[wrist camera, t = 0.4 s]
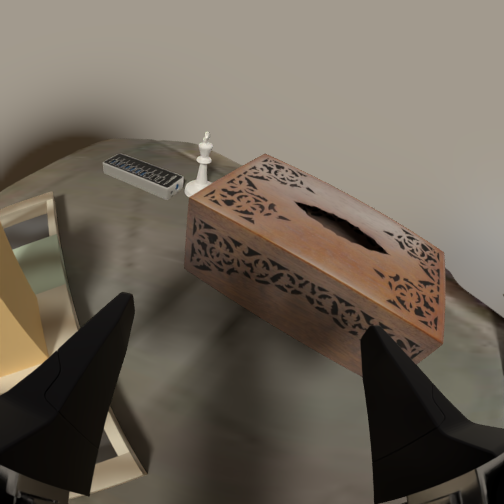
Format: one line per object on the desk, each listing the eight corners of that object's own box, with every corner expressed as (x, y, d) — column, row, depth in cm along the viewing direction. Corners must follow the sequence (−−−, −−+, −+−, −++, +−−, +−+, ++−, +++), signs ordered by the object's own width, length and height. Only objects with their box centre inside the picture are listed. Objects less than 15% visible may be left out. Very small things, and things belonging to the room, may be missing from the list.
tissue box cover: (403, 302, 35) (444, 252, 29) (381, 388, 26) (442, 343, 19) (249, 213, 42) (264, 153, 35) (184, 269, 32) (189, 197, 25)
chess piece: (220, 187, 45) (229, 130, 38) (210, 204, 41) (219, 142, 34) (191, 180, 45) (197, 123, 38) (179, 196, 41) (183, 134, 34)
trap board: (147, 474, 16) (143, 474, 14) (20, 507, 8) (6, 508, 7) (55, 205, 34) (52, 191, 32) (-19, 232, 27) (-25, 219, 25)
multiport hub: (120, 163, 45) (119, 152, 44) (184, 189, 43) (185, 176, 42) (102, 174, 42) (101, 162, 41) (167, 202, 40) (167, 189, 38)
